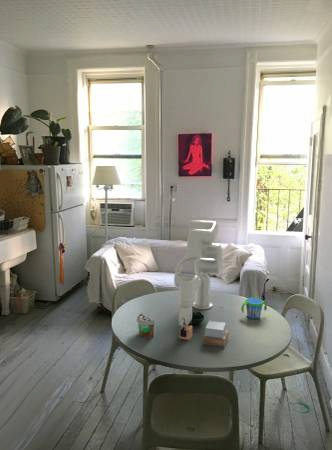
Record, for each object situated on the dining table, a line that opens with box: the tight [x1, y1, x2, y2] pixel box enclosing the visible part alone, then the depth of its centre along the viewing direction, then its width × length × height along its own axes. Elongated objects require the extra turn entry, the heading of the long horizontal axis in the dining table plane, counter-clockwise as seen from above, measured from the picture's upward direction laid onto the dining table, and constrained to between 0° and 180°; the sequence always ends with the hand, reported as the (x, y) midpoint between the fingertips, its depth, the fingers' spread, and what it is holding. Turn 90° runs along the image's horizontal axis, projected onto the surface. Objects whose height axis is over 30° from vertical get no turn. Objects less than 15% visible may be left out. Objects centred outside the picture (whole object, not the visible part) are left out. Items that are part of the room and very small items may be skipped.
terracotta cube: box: [179, 325, 193, 341], centre depth 206 cm, size 6×6×6 cm
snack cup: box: [240, 297, 268, 320], centre depth 231 cm, size 16×10×10 cm
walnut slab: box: [202, 329, 229, 348], centre depth 202 cm, size 11×11×4 cm
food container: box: [136, 312, 156, 339], centre depth 207 cm, size 12×6×10 cm, turn 37°
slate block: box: [204, 320, 227, 339], centre depth 201 cm, size 9×9×4 cm
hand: (185, 332), depth 206 cm, fingers open, 9 cm apart
